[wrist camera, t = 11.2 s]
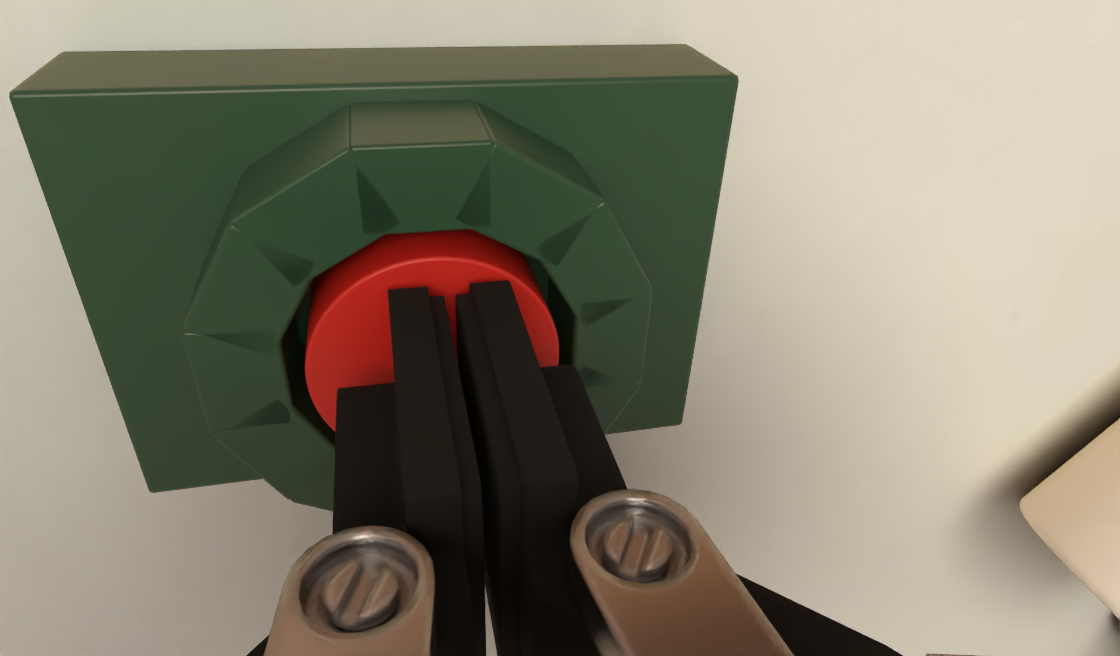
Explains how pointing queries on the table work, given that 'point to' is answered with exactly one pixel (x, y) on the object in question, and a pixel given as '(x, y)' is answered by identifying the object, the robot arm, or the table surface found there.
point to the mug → (1084, 515)
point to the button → (405, 262)
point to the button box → (367, 219)
